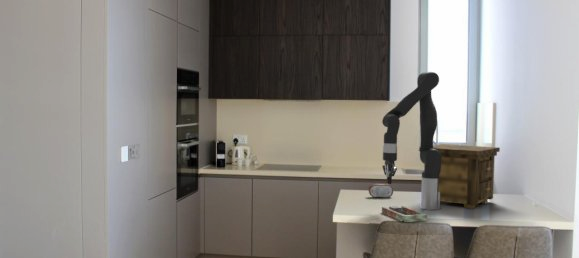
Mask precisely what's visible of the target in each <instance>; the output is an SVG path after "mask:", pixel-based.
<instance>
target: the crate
mask: <svg viewBox="0 0 579 258" xmlns="http://www.w3.org/2000/svg"><path fill="white" fill-rule="evenodd" d="M433 149H436V150H438V151H439V152H440V154H441V171H440V174H439V192H440V202H447V203H448V202H449V203H455V204H463V208H464V209H465V208H466V209H475V208H476V206H477V205H479V204H487V203H488V201H489V200H493V199H494V178H495V177H494V173H495V172H494V171H495V157H497V156H498V153H499V152H500V147H495V146H480V145H479V146H478V145H460V144H447V143H446V144H445V143H443V144H442V143H441V144H436V145H435V144H433ZM418 150H419V152H420V146H419V149H418ZM423 165H424V169H423V170H424V171H425V168H426V164H424V163H423ZM424 171H423V172H424Z"/></svg>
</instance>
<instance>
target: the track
mask: <svg viewBox="0 0 579 258" xmlns="http://www.w3.org/2000/svg"><path fill="white" fill-rule="evenodd" d="M400 207H401V208H402V214H401V213H398V212H396V211H393V210H391V209H389V207H385V206H382V207H381V214H384V215H387V216H388V217H391V218H394V219H396V220H398V221H400V222H402V221H404V222H403V223H410V222H411V223H414V222H428V214H426V213H423V212H420V211H418V210H416V209H412V208H410V207H407V206H403V205H402V206H400ZM405 213H406V214H405Z"/></svg>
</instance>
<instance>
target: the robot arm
mask: <svg viewBox="0 0 579 258" xmlns="http://www.w3.org/2000/svg"><path fill="white" fill-rule="evenodd" d="M416 80H417V81H416V82H417V87H416V88H415V89H414V90H412V91H411V92H409V93H408V94H407V95H405V97H403V98H402V99H401V100H400V101H399V102H398V103H397V104H396V105H395V106H394V107H393V108H392V109H391V110H390V111H388V112H386V114H385V115H384V116H383V118H382V121H381V124H382V126H384V127H386V129H387V130H386V132H384V135H383V145H382V161H383V162H384V165H382V170H383V174H384V175H385V176H386V184H389V185H391V184H392V183H393V181H392V177H394V176H395V174H396V172H397V170H398V168H397V167H395V165H396V164H395V163H396V161H398V133H399V130H400V126H401V125H400V123H401V122H400V119H401V118H402V117H405V116H406V115H407V114H408V113H409V112H410V111H411V109H412V108H414V107H415V106H416V104H417V103H418V102H419V126H420V131H419V132H420V146H419V147H420V151H419V159H420V162H421V163H422V164H423V165H424V164H426V168H425V171H422V172H421V194H420V195H421V196H420V197H421V198H420V199H421V200H420V209H422V210H428V211H429V210H430V211H436V210H440V208H441V201H440V192H439V174H440V171H441V154H440V152H439V151H438V150H436V149H433V146H434V136H435V133H436V130H437V127H438V113H437V109H436V106H435V104H434V101H433V97H432V90H434V89H435V88H436V87H437V86H438V85H439V83H440V77H439V74H437V73H436V72H433V71H426V72H425V71H424V72H421V73H419V75H418V76H417V79H416Z"/></svg>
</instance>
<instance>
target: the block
mask: <svg viewBox="0 0 579 258" xmlns="http://www.w3.org/2000/svg"><path fill="white" fill-rule="evenodd" d="M388 209H391V210H393V211H396V212H398V213H401V214H403V212H402V208H401V206H397V205H394V206H393V205H392V206H389V207H388Z"/></svg>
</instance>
